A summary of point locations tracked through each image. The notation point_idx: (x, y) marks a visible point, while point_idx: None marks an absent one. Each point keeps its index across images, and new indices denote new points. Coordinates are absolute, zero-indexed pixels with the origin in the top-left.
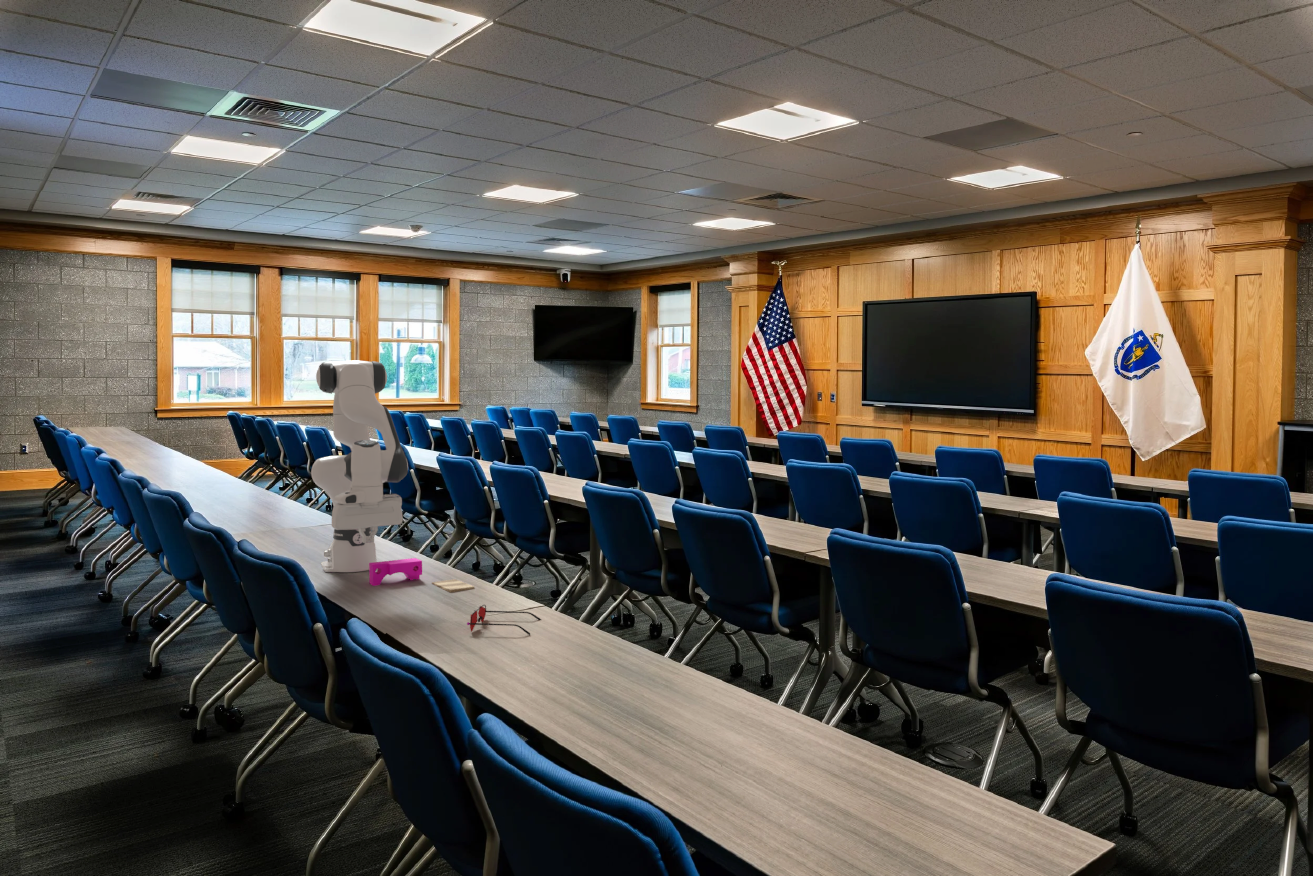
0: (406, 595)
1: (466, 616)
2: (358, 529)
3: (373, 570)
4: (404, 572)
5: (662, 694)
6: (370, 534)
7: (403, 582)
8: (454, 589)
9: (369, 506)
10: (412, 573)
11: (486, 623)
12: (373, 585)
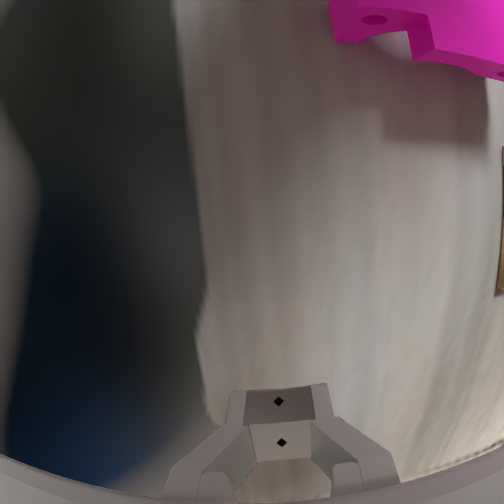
0: (406, 237)
1: (397, 471)
2: (167, 486)
3: (353, 15)
4: (466, 67)
5: None
6: (317, 430)
7: None
8: None
9: None
10: (486, 74)
11: None
12: (338, 38)
